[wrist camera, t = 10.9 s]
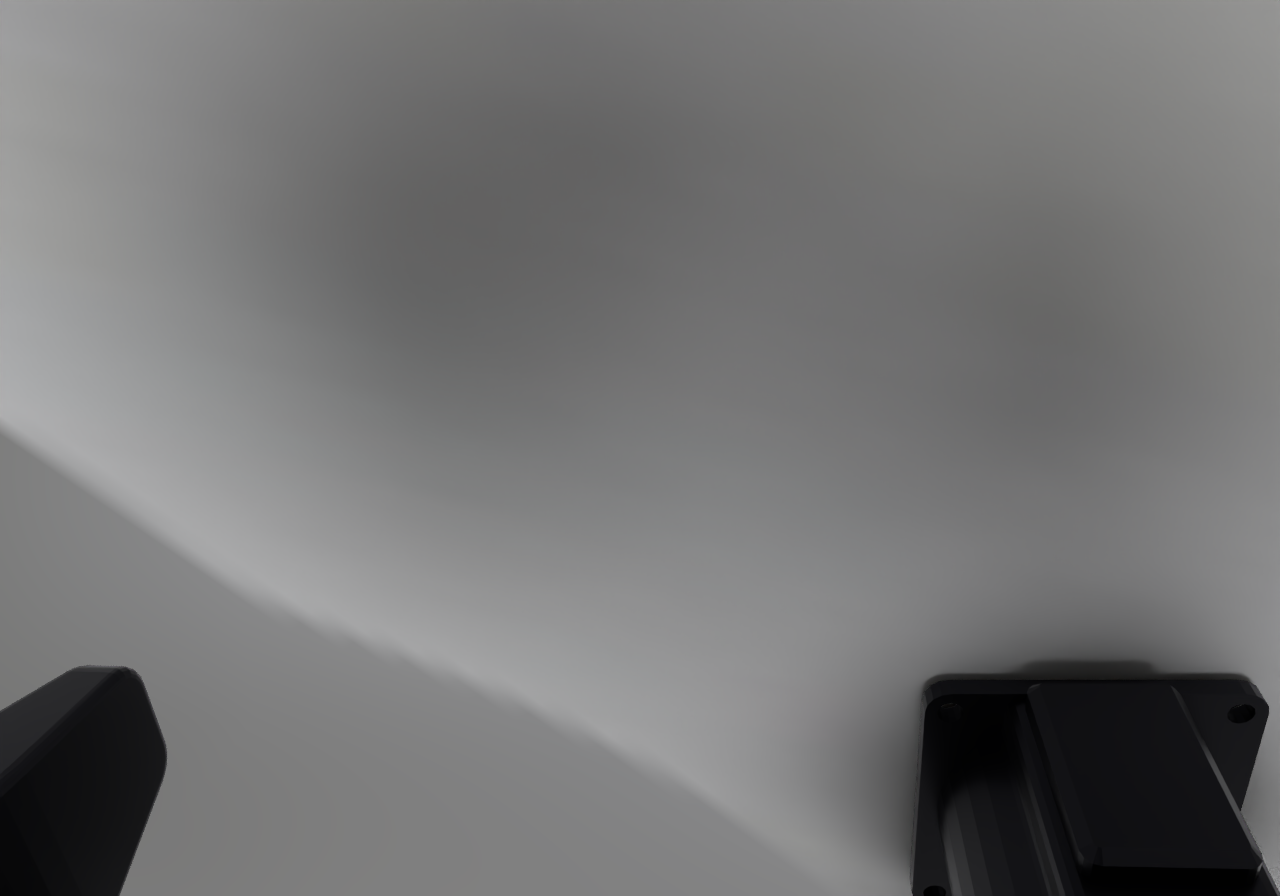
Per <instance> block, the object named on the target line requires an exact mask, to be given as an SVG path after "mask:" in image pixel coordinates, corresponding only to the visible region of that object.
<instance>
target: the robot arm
mask: <svg viewBox="0 0 1280 896" xmlns="http://www.w3.org/2000/svg"><path fill="white" fill-rule="evenodd" d="M949 703H953V704H957V705H955V706H954V707H950V708H943V707H941V706H943V705H944V704H949ZM1240 704H1243V705H1242V706H1240V707H1238V708H1233V707H1234V706H1236V705H1240ZM1231 708H1233V709H1231ZM1268 715H1269V706H1268V704H1267V703H1266V701H1265V699H1264V698H1263V696H1262V694H1261V693H1260V691H1259V690H1258V688H1257V687H1256V685H1254V684H1252V683H1250V682H1248V681H1241V680H946V681H939V682H937V683H935V684H933V685H931V686H929V687H928V688H927V689H926V690H925V692H924V694H923V697H922V705H921V720H920V735H919V749H918V764H917V779H916V793H915V808H914V823H913V838H912V852H911V867H910V882H911V888H912V894H913V896H1280V893H1279V891H1278V889H1277V887H1276V885H1275V883H1274V881H1273V879H1272V877H1271V875H1270V873H1269V871H1268V869H1267V867H1266V865H1265V863H1264V861H1263V859H1262V853H1261V851H1260V849H1259V847H1258V846H1257V844H1256V842H1255V840H1254V838H1253V836H1252V834H1251V832H1250V830H1249V828H1248V826H1247V824H1246V822H1245V820H1244V818H1243V816H1242V814H1241V808H1242V805H1243V801H1244V798H1245V794H1246V791H1247V787H1248V784H1249V781H1250V777H1251V774H1252V770H1253V767H1254V763H1255V760H1256V756H1257V753H1258V749H1259V746H1260V743H1261V739H1262V736H1263V732H1264V729H1265V725H1266V722H1267V718H1268ZM166 765H167V750H166V744H165V740H164V737H163V734H162V732H161V729H160V726H159V723H158V721H157V718H156V715H155V712H154V710H153V707H152V704H151V702H150V699H149V696H148V693H147V690H146V688H145V685H144V682H143V680H142V678H141V676H140V675H139V674H137V672H136V671H135V670H133V669H131V668H128V667H124V666H95V665H86V666H79V667H76V668H73V669H71V670H69V671H67V672H65V673H64V674H62V675H60V676H59V677H57V678H55V679H54V680H52V681H50V682H48V683H47V684H45V685H43V686H42V687H40V688H38V689H37V690H35V691H33V692H32V693H30V694H28V695H27V696H25V697H23V698H21V699H20V700H18V701H16V702H15V703H13V704H11V705H9V706H8V707H6V708H4V709H3V710H1V711H0V896H119V895H120V893H121V890H122V887H123V885H124V882H125V880H126V877H127V874H128V872H129V869H130V866H131V864H132V861H133V858H134V856H135V853H136V850H137V848H138V845H139V842H140V840H141V837H142V835H143V832H144V829H145V827H146V824H147V821H148V819H149V816H150V813H151V811H152V808H153V805H154V803H155V800H156V797H157V795H158V792H159V790H160V787H161V784H162V782H163V778H164V775H165V770H166Z"/></svg>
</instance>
